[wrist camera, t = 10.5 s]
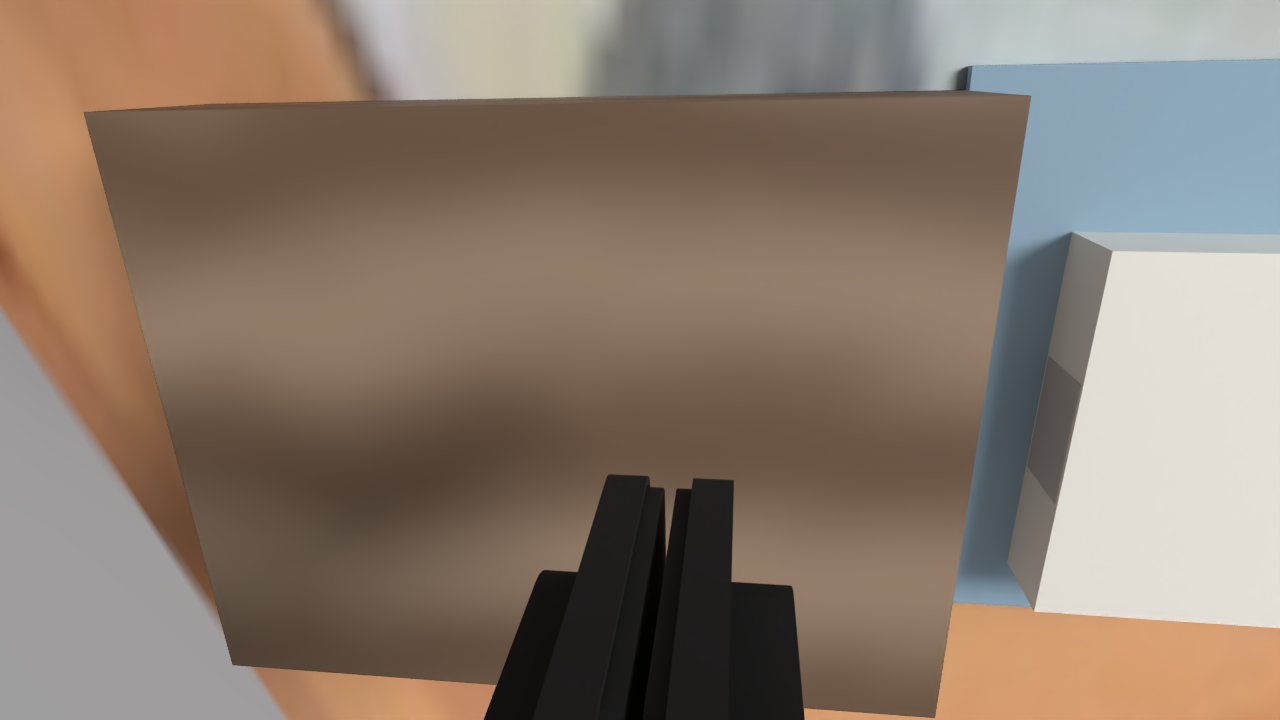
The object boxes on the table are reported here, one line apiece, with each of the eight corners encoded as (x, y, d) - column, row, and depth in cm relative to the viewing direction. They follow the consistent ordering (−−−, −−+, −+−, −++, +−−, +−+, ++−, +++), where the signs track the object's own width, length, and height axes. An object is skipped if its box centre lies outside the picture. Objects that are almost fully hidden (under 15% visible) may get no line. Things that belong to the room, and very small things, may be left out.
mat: (968, 66, 17) (972, 65, 16) (1593, 52, 15) (1610, 51, 15) (902, 592, 21) (904, 599, 21) (1368, 619, 20) (1377, 627, 20)
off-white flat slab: (1442, 256, 15) (1362, 235, 17) (1111, 250, 15) (1071, 231, 17) (1300, 629, 18) (1247, 576, 20) (1033, 611, 19) (1005, 562, 20)
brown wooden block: (212, 103, 19) (83, 112, 15) (965, 90, 17) (1031, 95, 13) (310, 572, 24) (232, 665, 20) (900, 607, 22) (934, 718, 18)
